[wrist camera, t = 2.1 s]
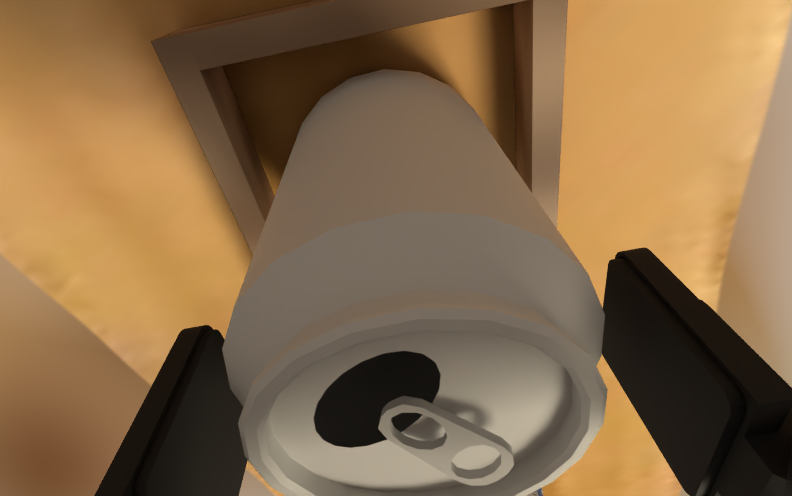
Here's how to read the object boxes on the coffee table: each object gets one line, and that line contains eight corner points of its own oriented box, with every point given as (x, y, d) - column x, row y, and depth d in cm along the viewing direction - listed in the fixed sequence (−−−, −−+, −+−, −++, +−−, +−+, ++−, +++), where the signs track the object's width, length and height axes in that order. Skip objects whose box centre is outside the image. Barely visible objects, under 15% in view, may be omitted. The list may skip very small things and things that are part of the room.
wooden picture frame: (176, 30, 14) (150, 41, 12) (544, -51, 13) (570, -52, 11) (294, 298, 21) (287, 328, 19) (538, 254, 20) (554, 281, 18)
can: (354, 17, 14) (328, 173, 4) (523, 132, 16) (756, 396, 7) (265, 192, 17) (135, 507, 7) (416, 264, 20) (465, 567, 10)
